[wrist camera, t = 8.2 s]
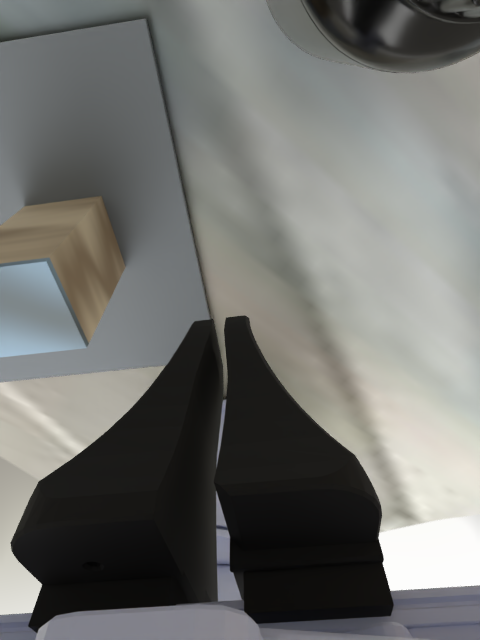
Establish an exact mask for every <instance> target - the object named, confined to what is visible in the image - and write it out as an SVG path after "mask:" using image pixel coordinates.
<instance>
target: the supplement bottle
mask: <svg viewBox="0 0 480 640" xmlns="http://www.w3.org/2000/svg"><path fill="white" fill-rule="evenodd" d="M266 2H267V4H268V7H269V10H270V12H271V14H272V16H273V18H274V20H275V21H276V23H277V25H278V26H279V28H280V29H281V30H282V32H283V33H284V34H285V35H286V36H287V38H288V39H289V40H290V41H291V42H292V43H294V44H295V45H296V46H297V47H298V48H300V49H301V50H303V51H304V52H306V53H308V54H310V55H312V56H315V57H317V58H320V59H323V60H327V61H331V62H336V63H342V64H347V65H352V66H358V67H363V68H368V69H373V70H379V71H386V72H394V73H416V72H424V71H431V70H435V69H440V68H443V67H446V66H449V65H452V64H455V63H458V62H460V61H462V60H464V59H467V58H469V57H471V56H473V55H475V54H477V53H478V52H480V0H266Z"/></svg>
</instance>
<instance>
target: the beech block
mask: <svg viewBox="0 0 480 640" xmlns="http://www.w3.org/2000/svg"><path fill="white" fill-rule="evenodd" d="M124 269H125V264H124V261H123V258H122V255H121V252H120V249H119V246H118V243H117V240H116V237H115V234H114V231H113V228H112V225H111V223H110V220H109V217H108V214H107V211H106V208H105V205H104V202H103V199H102V196H98V197H90V198H83V199H75V200H68V201H60V202H53V203H46V204H38V205H31V206H24V207H23V208H22V209H21V210H19V211H18V212H17V213H16V214H14V215H13V216H12V217H11V218H9V219H8V220H7V221H6V222H4V223H3V224H2V225H1V226H0V357H9V356H18V355H27V354H37V353H46V352H55V351H65V350H74V349H83V348H87V346H88V344H89V342H90V340H91V338H92V336H93V334H94V332H95V330H96V328H97V326H98V323H99V321H100V319H101V317H102V315H103V313H104V311H105V309H106V307H107V305H108V303H109V301H110V298H111V296H112V294H113V292H114V290H115V288H116V286H117V284H118V282H119V280H120V278H121V276H122V273H123V271H124Z"/></svg>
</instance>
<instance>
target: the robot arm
mask: <svg viewBox="0 0 480 640" xmlns="http://www.w3.org/2000/svg"><path fill="white" fill-rule="evenodd" d="M224 335H225V347H226V358H227V369H228V385H227V397H226V400H223V364H222V359H221V354H220V350H219V345H218V340H217V335H216V330H215V325H214V321H213V319H210V320H201V321H194V322H193V324H192V325H191V327H190V328H189V330H188V332H187V334H186V335H185V337H184V339H183V340H182V342H181V344H180V345H179V347H178V349H177V350H176V352H175V353H174V355H173V356H172V358H171V359H170V361H169V362H168V364H167V365H166V367H165V368H164V369H163V371H162V372H161V373H160V375H159V376H158V377H157V379H156V380H155V381H154V383H153V384H152V385H151V386H150V388H149V389H148V390H147V391H146V392H145V394H144V395H143V396H142V397H141V398H140V399H139V400H138V401H137V403H136V404H135V405H134V406H133V407H132V408H131V409H130V410H129V411H128V412H127V413H126V414H125V415H124V416H123V417H122V418H121V419H120V420H118V421H117V422H116V423H115V424H114V425H113V426H112V427H111V428H110V429H109V430H108V431H107V432H105V433H104V434H103V435H102V436H101V437H99V438H98V439H97V440H96V441H95V442H93V443H92V444H91V445H90V446H88V447H87V448H86V449H85V450H83V451H82V452H81V453H79V454H78V455H77V456H75V457H74V458H73V459H71V460H70V461H68V462H67V463H65V464H64V465H62V466H61V467H60V468H58V469H57V470H55V471H54V472H52V473H51V474H49V475H48V476H47V477H45V478H43V479H42V480H40V481H39V482H38V484H37V486H36V488H35V490H34V492H33V494H32V496H31V498H30V500H29V502H28V505H27V507H26V509H25V511H24V514H23V516H22V518H21V520H20V523H19V525H18V527H17V530H16V532H15V534H14V536H13V539H12V541H11V549H12V552H13V554H14V556H15V557H16V558H17V560H18V561H19V562H20V563H21V564H22V565H23V566H24V567H25V568H26V569H27V570H28V571H29V572H30V573H31V574H32V575H33V576H34V577H36V579H38V581H39V582H41V584H42V588H41V590H40V593H39V596H38V599H37V602H36V605H35V607H34V610H33V613H25V614H9V615H0V640H480V586H465V587H448V588H433V589H432V588H431V589H415V590H399V591H390V589H389V585H388V581H387V578H386V574H385V571H384V567H383V564H382V562H383V560H384V559H383V554H382V550H381V547H380V543H379V539H378V536H379V530H380V524H381V518H382V511H381V505H380V502H379V499H378V496H377V494H376V492H375V490H374V487H373V485H372V483H371V481H370V479H369V478H368V476H367V474H366V472H365V471H364V469H363V467H362V466H361V464H360V462H359V461H358V459H357V458H356V456H355V455H354V454H353V453H351V452H350V451H349V450H347V449H346V448H345V447H344V446H342V445H341V444H340V443H339V442H337V441H336V440H335V439H334V438H333V437H331V436H330V435H329V434H328V433H327V432H326V431H325V430H324V429H322V428H321V427H320V426H319V425H318V424H317V423H316V422H315V421H314V420H313V419H312V418H311V417H310V416H309V415H308V414H307V413H306V412H305V411H304V410H303V409H302V408H301V407H300V406H299V405H298V403H297V402H296V401H295V400H294V399H293V398H292V396H291V395H290V394H289V393H288V392H287V390H286V389H285V388H284V386H283V385H282V384H281V383H280V381H279V380H278V378H277V377H276V375H275V374H274V373H273V371H272V369H271V368H270V366H269V365H268V363H267V361H266V360H265V358H264V356H263V354H262V352H261V351H260V349H259V347H258V345H257V343H256V341H255V338H254V336H253V333H252V330H251V327H250V321H249V318H248V317H247V316H237V317H228V318H226V321H225V328H224Z"/></svg>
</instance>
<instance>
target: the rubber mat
mask: <svg viewBox="0 0 480 640" xmlns="http://www.w3.org/2000/svg"><path fill="white" fill-rule="evenodd" d="M98 196H102V199H103V202H104V205H105V208H106V211H107V214H108V217H109V220H110V223H111V225H112V228H113V231H114V234H115V237H116V240H117V243H118V246H119V249H120V252H121V255H122V258H123V261H124V264H125V269H124V271H123V273H122V276H121V278H120V280H119V282H118V284H117V286H116V288H115V290H114V292H113V294H112V296H111V298H110V301H109V303H108V305H107V307H106V309H105V311H104V313H103V315H102V317H101V319H100V321H99V323H98V326H97V328H96V330H95V332H94V334H93V336H92V338H91V340H90V342H89V344H88V346H87V348H83V349H74V350H65V351H55V352H46V353H37V354H27V355H18V356H9V357H0V382H8V381H18V380H28V379H37V378H47V377H57V376H66V375H76V374H86V373H95V372H105V371H115V370H124V369H134V368H144V367H153V366H163V365H167V364H168V362H169V361H170V359H171V358H172V356H173V355H174V353H175V352H176V350H177V349H178V347H179V345H180V344H181V342H182V340H183V339H184V337H185V335H186V334H187V332H188V330H189V328H190V327H191V325H192V324H193V322H194V321H201V320H210V319H211V318H210V313H209V308H208V304H207V299H206V294H205V289H204V285H203V280H202V275H201V271H200V266H199V261H198V256H197V252H196V247H195V242H194V238H193V233H192V228H191V223H190V219H189V214H188V209H187V205H186V200H185V195H184V191H183V186H182V181H181V176H180V172H179V167H178V162H177V158H176V153H175V148H174V143H173V139H172V134H171V129H170V125H169V120H168V115H167V110H166V106H165V101H164V96H163V92H162V87H161V82H160V78H159V73H158V68H157V63H156V59H155V54H154V49H153V45H152V40H151V35H150V30H149V26H148V21H147V19H139V20H133V21H127V22H121V23H114V24H108V25H102V26H96V27H90V28H84V29H78V30H72V31H66V32H60V33H54V34H48V35H42V36H35V37H29V38H23V39H17V40H11V41H5V42H0V226H1V225H2V224H3V223H4V222H6V221H7V220H8V219H9V218H11V217H12V216H13V215H14V214H16V213H17V212H18V211H19V210H21V209H22V208H23V207H24V206H31V205H38V204H46V203H53V202H60V201H68V200H75V199H83V198H90V197H98Z"/></svg>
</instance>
